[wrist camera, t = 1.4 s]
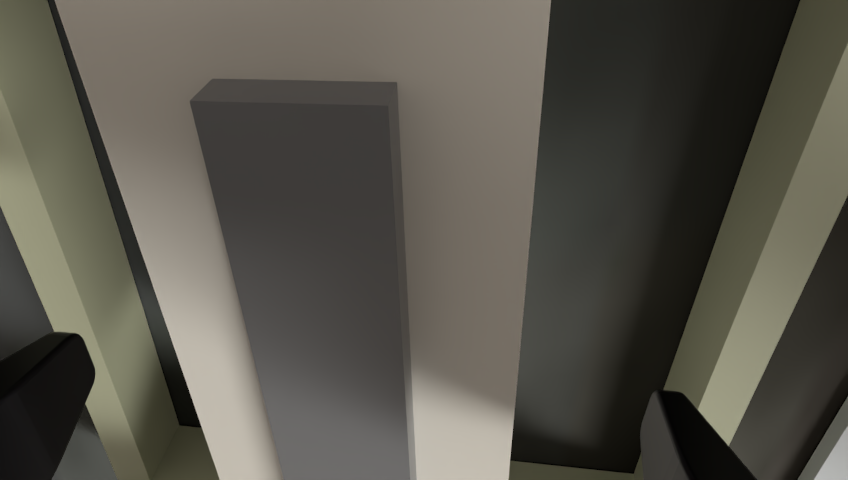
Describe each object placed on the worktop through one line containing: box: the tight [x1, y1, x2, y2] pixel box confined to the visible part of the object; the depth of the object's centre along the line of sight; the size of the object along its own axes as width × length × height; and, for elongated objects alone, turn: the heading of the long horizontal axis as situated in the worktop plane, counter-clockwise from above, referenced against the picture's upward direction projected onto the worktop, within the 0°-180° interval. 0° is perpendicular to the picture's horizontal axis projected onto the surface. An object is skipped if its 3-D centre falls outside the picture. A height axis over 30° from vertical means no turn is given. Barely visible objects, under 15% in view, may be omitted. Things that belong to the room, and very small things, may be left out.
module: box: [54, 0, 551, 480], centre depth 12 cm, size 5×12×7 cm, turn 1°
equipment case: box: [0, 0, 848, 480], centre depth 11 cm, size 16×21×8 cm
